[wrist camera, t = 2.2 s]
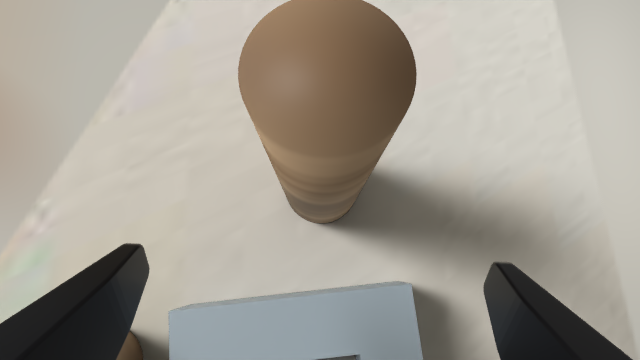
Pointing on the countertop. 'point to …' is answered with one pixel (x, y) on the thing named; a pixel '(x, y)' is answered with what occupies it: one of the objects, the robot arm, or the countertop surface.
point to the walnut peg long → (326, 97)
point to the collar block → (301, 326)
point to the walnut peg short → (130, 349)
